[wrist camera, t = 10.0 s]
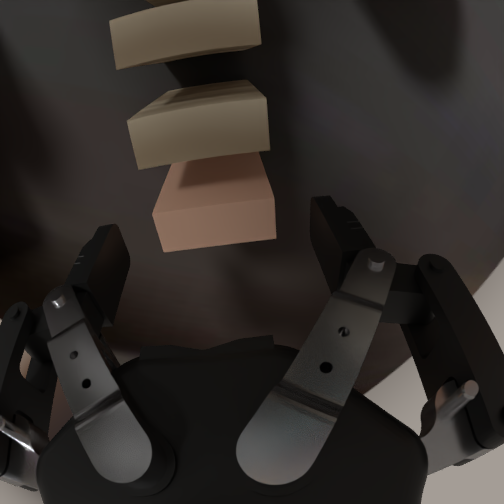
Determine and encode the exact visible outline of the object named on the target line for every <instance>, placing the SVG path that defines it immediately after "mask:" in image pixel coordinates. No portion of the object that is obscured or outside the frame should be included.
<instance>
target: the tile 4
mask: <svg viewBox="0 0 504 504" xmlns="http://www.w3.org/2000/svg"><path fill="white" fill-rule="evenodd" d="M127 124H128V128H129V133H130V137H131V141H132V145H133V149H134V153H135V157H136V161H137V165H138V169H139V170H141V169H146V168H151V167H156V166H161V165H167V164H172V163H178V162H184V161H190V160H197V159H203V158H210V157H217V156H225V155H232V154H241V153H249V152H259V151H269V150H270V140H269V126H268V113H267V100H266V97H265V96H264V95H263V94H262V93H261V92H260V91H258V90H257V89H256V88H255V87H254V86H253V85H252V84H251V83H250V82H249V81H248V80H237V81H228V82H220V83H212V84H206V85H199V86H193V87H187V88H182V89H176V90H171V91H168V92H166V93H165V94H163V95H162V96H161V97H159V98H158V99H156V100H155V101H153V102H152V103H151V104H149V105H148V106H146V107H145V108H144V109H142V110H141V111H139V112H138V113H137V114H135V115H134V116H133V117H131V118H130V119H129V120H128V121H127Z"/></svg>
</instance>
